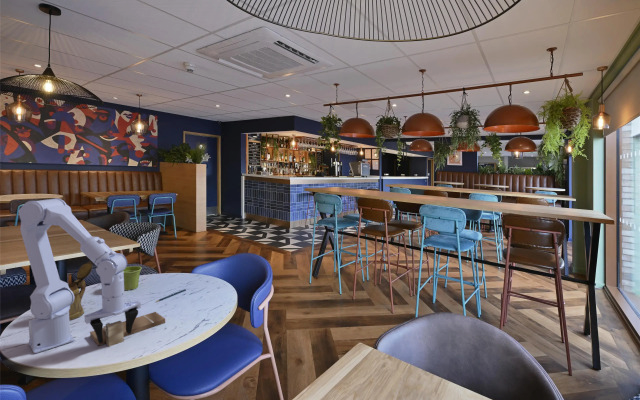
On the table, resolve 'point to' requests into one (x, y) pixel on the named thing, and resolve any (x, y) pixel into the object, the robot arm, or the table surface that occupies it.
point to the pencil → (171, 295)
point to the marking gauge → (114, 333)
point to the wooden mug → (76, 307)
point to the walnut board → (135, 325)
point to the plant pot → (131, 277)
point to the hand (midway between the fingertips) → (114, 337)
